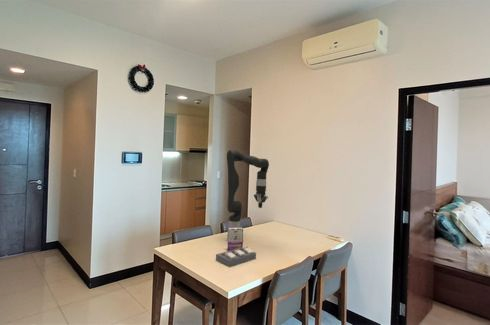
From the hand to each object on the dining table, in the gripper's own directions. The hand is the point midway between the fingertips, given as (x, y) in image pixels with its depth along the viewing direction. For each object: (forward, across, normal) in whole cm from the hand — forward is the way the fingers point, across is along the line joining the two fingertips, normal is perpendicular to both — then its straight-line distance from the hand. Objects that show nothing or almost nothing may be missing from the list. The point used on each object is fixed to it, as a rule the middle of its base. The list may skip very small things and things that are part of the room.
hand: (260, 207), depth 208 cm
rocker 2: (+27, -8, +27) cm, 39 cm away
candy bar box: (+32, +10, +15) cm, 37 cm away
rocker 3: (+27, -8, +19) cm, 34 cm away
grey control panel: (+32, -5, +27) cm, 42 cm away
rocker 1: (+27, -8, +35) cm, 45 cm away
